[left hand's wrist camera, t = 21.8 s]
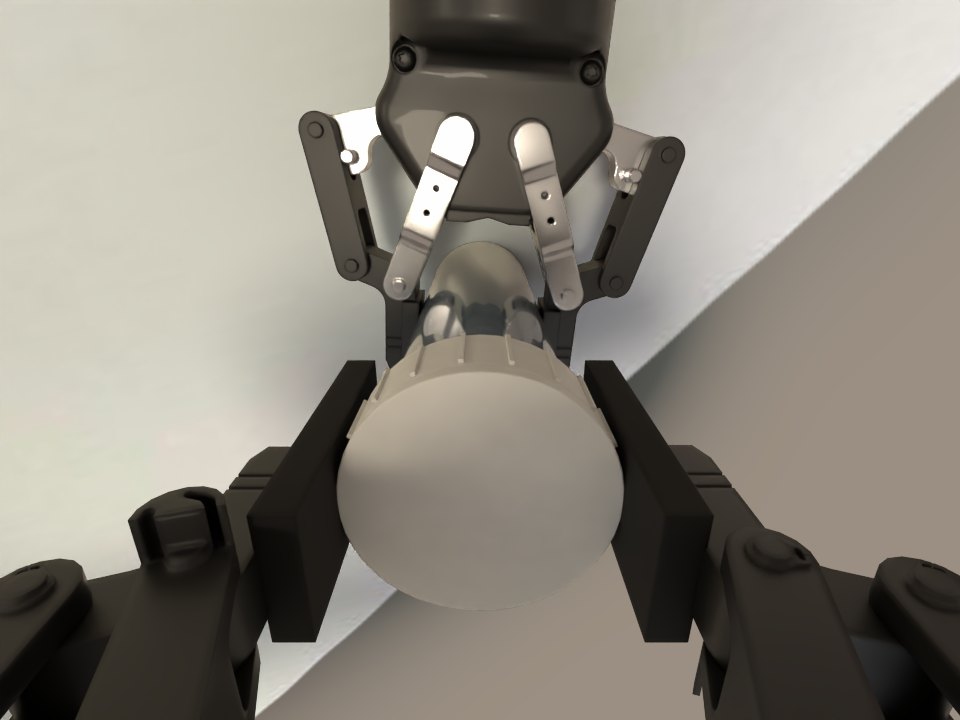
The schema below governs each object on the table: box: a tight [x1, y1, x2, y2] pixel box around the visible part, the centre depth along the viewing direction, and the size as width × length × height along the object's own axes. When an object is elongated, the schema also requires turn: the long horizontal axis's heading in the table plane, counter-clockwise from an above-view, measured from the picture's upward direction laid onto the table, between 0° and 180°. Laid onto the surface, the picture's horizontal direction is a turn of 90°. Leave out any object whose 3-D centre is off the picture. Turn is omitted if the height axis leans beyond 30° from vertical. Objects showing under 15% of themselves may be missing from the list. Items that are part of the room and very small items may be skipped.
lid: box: [336, 333, 624, 611], centre depth 11 cm, size 6×6×2 cm
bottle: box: [403, 242, 557, 358], centre depth 19 cm, size 5×5×17 cm
